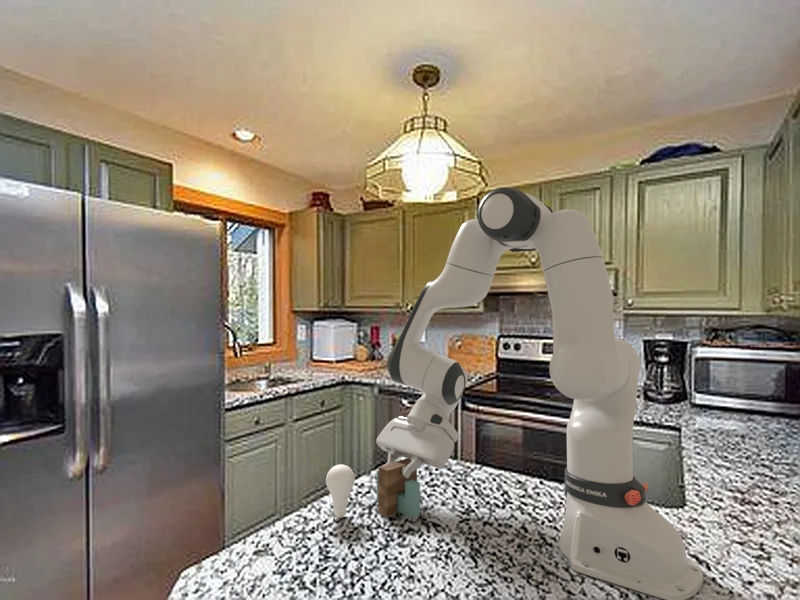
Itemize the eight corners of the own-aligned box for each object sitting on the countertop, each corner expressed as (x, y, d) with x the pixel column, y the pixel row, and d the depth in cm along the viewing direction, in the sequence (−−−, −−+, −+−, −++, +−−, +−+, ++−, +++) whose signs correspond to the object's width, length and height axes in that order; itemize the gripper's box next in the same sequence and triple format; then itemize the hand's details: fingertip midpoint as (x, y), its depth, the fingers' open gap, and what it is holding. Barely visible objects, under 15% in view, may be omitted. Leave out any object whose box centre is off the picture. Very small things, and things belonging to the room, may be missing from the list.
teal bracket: (419, 515, 97) (419, 482, 97) (413, 518, 95) (413, 484, 96) (383, 499, 105) (383, 469, 106) (376, 501, 104) (376, 470, 104)
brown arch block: (416, 505, 102) (416, 461, 103) (387, 517, 96) (387, 470, 97) (407, 501, 105) (407, 458, 105) (378, 513, 98) (378, 467, 99)
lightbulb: (349, 525, 92) (349, 470, 93) (321, 522, 93) (321, 468, 94) (358, 512, 98) (358, 461, 99) (331, 510, 99) (331, 459, 100)
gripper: (389, 407, 113) (358, 455, 106) (452, 421, 99) (421, 477, 91) (402, 422, 116) (373, 469, 109) (464, 437, 101) (435, 493, 94)
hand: (395, 473), depth 100 cm, fingers open, 4 cm apart
